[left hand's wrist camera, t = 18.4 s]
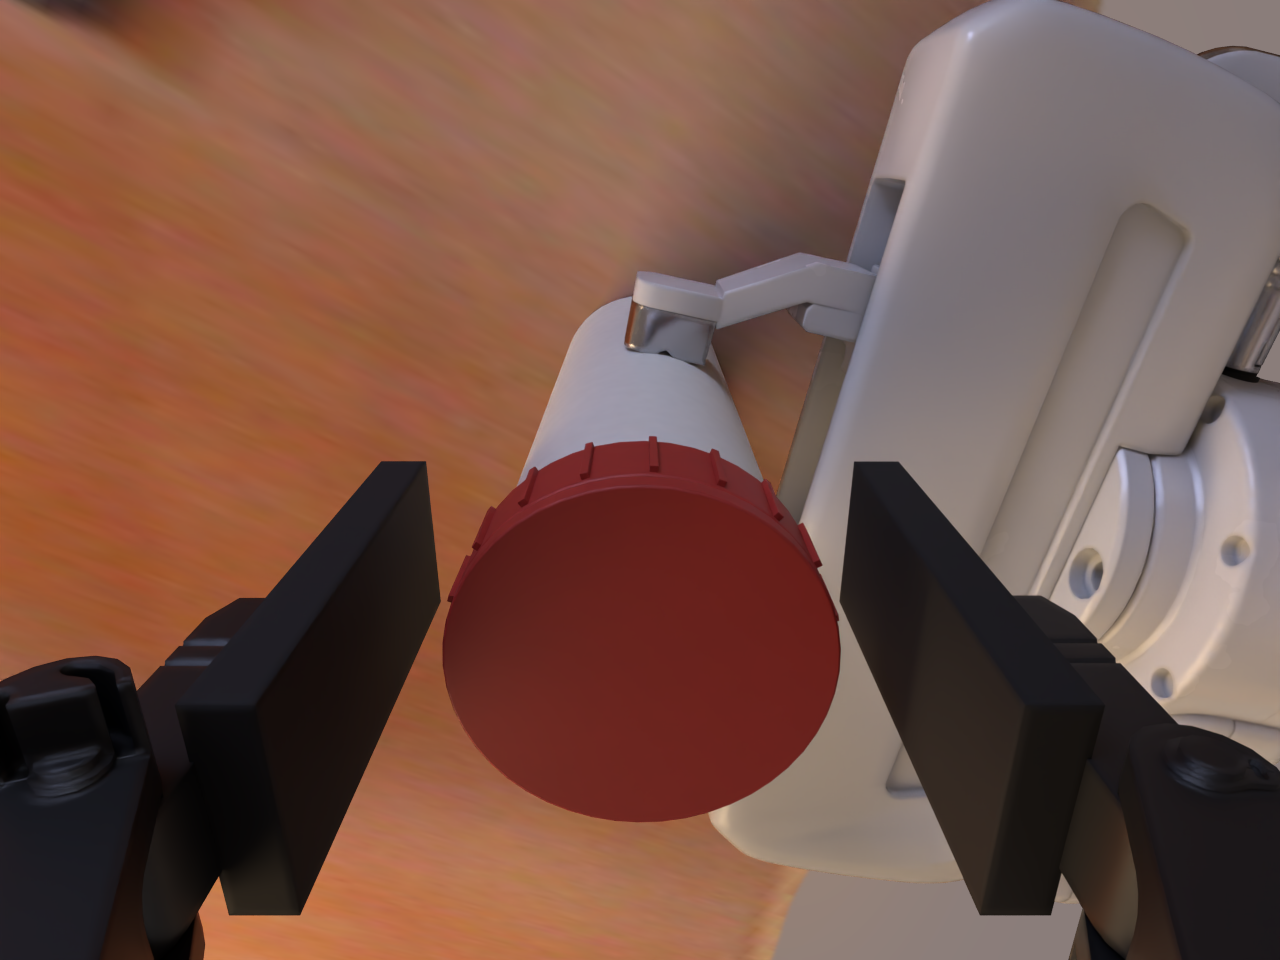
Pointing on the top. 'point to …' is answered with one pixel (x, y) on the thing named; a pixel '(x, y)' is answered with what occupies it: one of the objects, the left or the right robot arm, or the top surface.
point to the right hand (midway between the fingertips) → (602, 437)
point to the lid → (641, 634)
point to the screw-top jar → (636, 398)
